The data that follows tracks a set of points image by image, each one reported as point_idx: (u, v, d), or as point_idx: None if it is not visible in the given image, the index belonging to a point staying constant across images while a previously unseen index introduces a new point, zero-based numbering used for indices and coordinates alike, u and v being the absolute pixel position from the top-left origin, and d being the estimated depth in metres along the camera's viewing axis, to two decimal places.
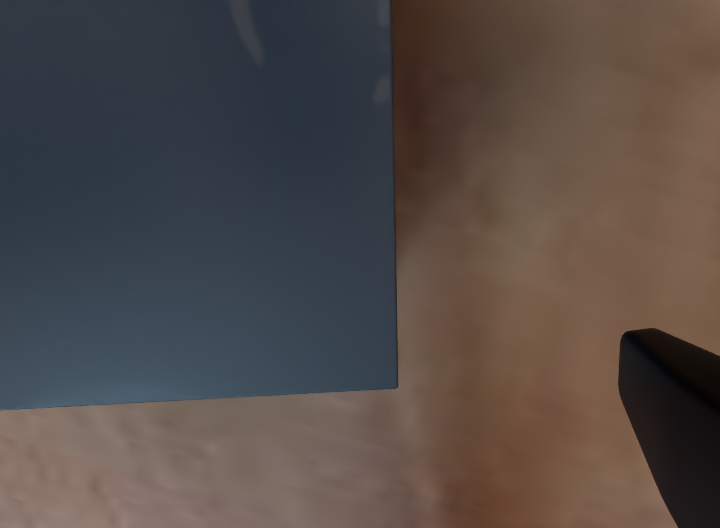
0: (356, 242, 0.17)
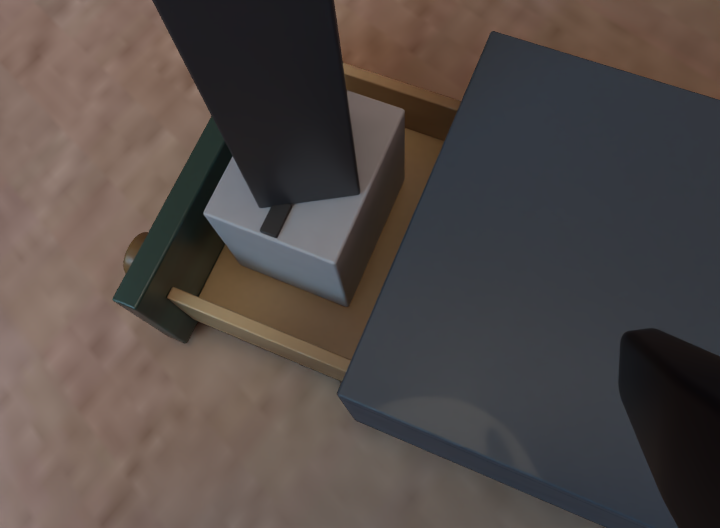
0: None
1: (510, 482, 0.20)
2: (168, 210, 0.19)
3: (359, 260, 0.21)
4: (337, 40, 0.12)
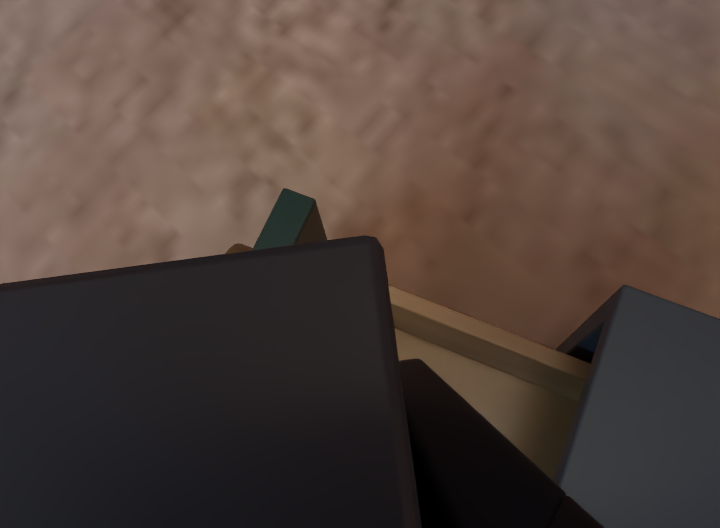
0: None
1: None
2: None
3: None
4: None
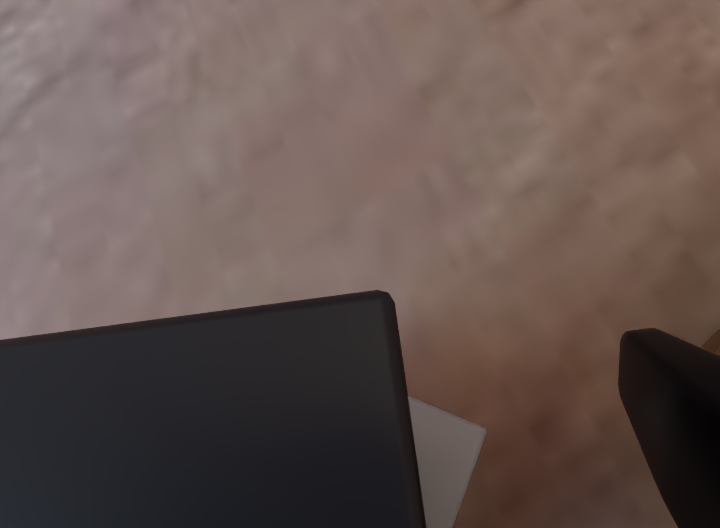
0: None
1: None
2: None
3: None
4: None
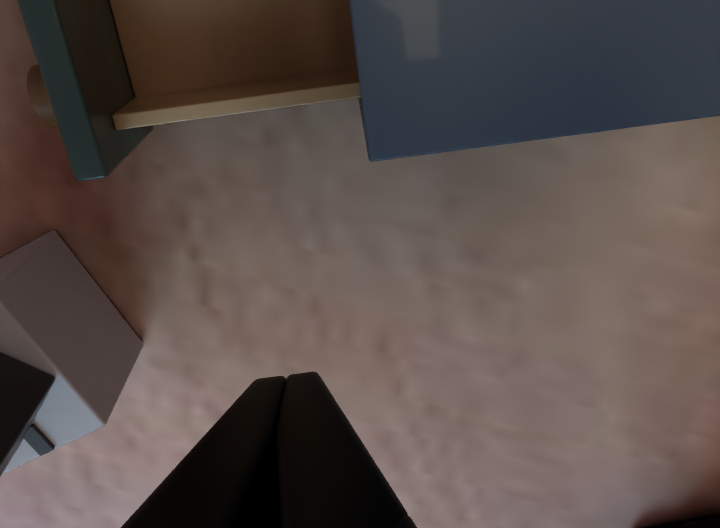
0: None
1: None
2: (44, 53, 0.15)
3: (111, 343, 0.22)
4: None
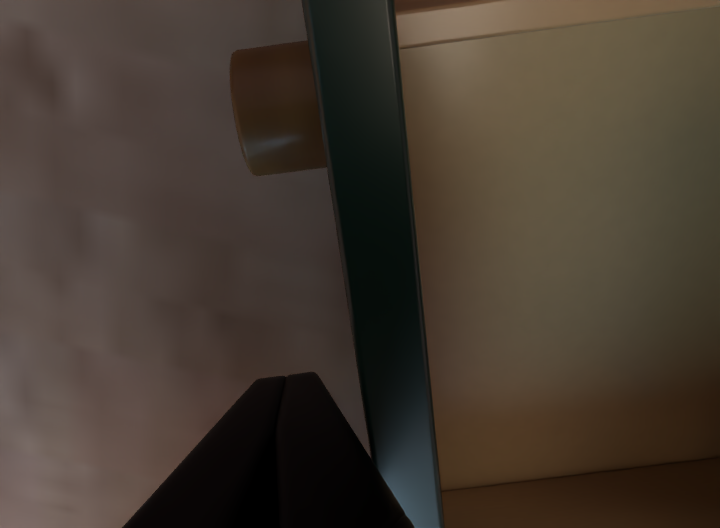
0: None
1: None
2: None
3: None
4: None
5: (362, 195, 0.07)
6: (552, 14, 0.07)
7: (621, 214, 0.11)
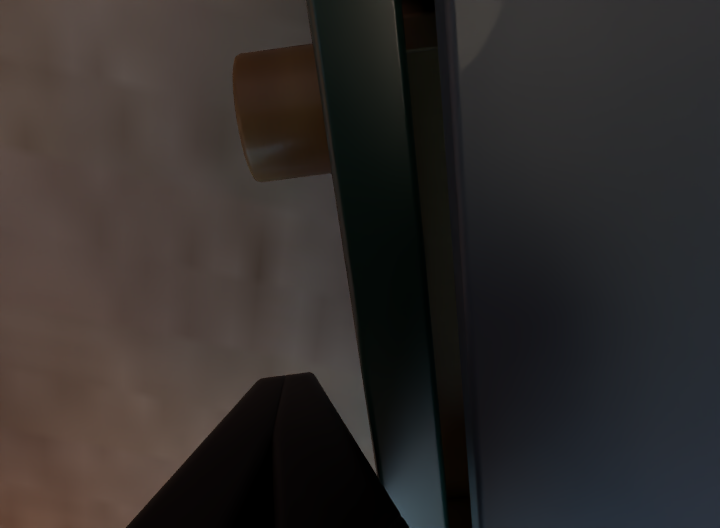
0: None
1: None
2: None
3: None
4: None
5: (368, 203, 0.06)
6: None
7: None
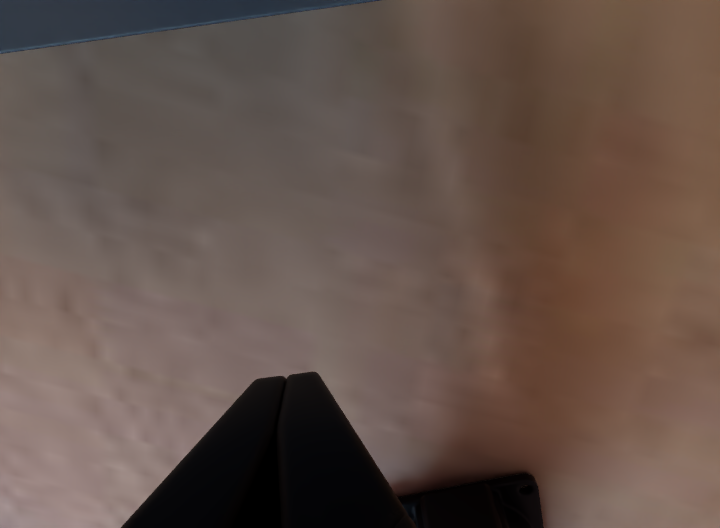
0: None
1: None
2: None
3: None
4: None
5: None
6: None
7: None
